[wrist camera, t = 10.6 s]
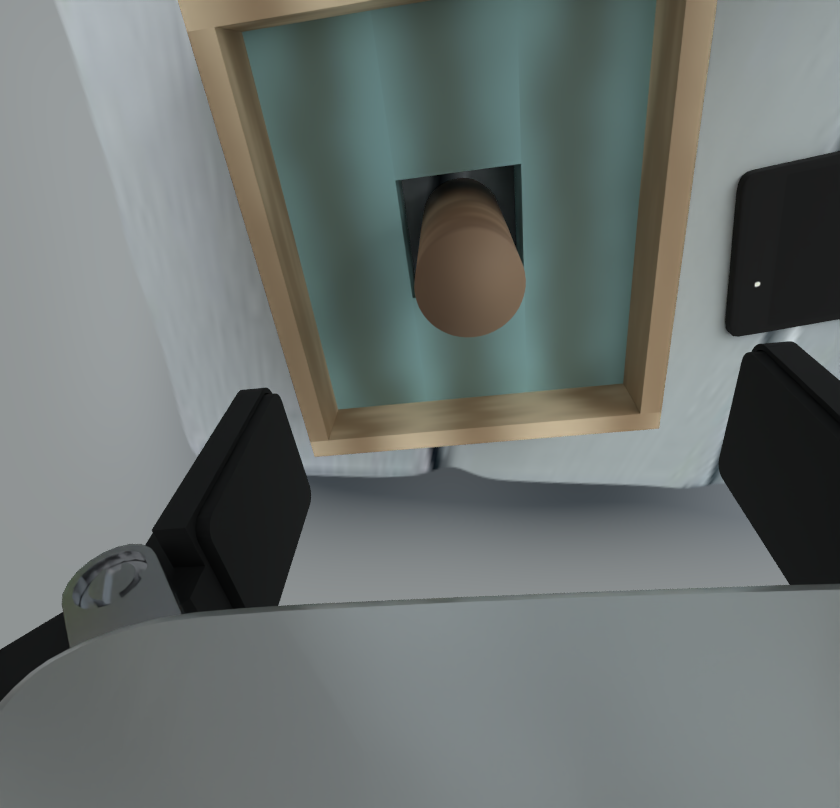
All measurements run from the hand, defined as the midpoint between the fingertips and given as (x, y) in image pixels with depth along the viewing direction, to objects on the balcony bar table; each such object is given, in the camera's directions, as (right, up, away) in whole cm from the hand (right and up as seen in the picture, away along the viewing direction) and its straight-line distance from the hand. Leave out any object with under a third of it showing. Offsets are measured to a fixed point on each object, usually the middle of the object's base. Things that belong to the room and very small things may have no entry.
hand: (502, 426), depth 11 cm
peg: (0, +10, +16) cm, 19 cm away
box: (0, +10, +16) cm, 19 cm away
